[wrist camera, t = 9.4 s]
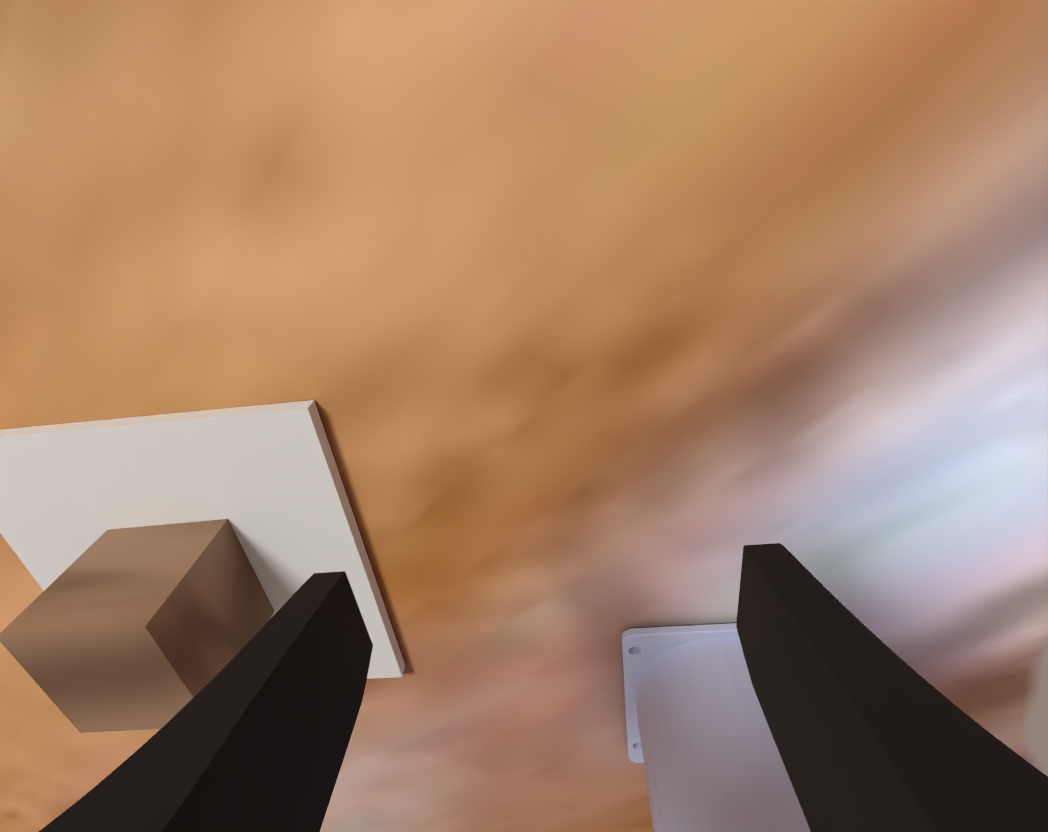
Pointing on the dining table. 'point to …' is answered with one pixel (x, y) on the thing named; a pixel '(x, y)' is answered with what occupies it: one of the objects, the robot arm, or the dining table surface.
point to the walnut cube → (140, 624)
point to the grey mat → (195, 497)
